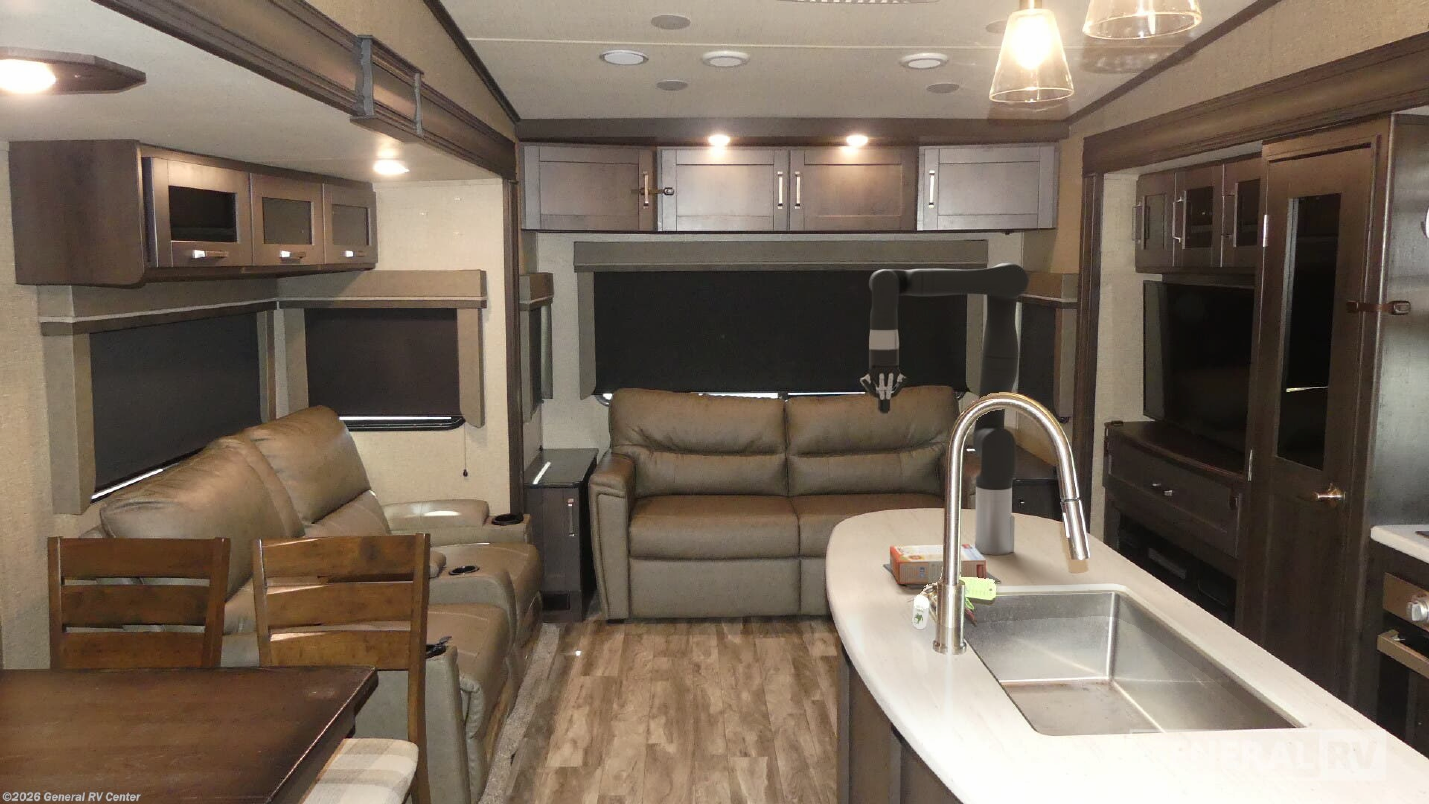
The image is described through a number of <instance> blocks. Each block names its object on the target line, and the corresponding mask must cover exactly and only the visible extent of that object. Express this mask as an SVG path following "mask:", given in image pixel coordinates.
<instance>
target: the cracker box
mask: <svg viewBox="0 0 1429 804" xmlns="http://www.w3.org/2000/svg"><path fill="white" fill-rule="evenodd" d="M943 545H944V544H932V545H931V544H926V545H890V546H889V564H890V568H891V570H892V572H893V574H894V577H895V580H896V581H897V583H898V585H905V584H930V583H936V582H938V580H939V579H940V577H941V573H942V567H943ZM960 545H961V572H960V574H961V577H978V578H984V579H986V571H987V559H985V557H984V556H983V555H982V553H980V552H979V551H978V550H977V549H976V548H975V545H974V544H973V543H969V544H968V543H965V544H960ZM893 574H892V575H893Z"/></svg>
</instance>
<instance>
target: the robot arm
mask: <svg viewBox="0 0 1429 804" xmlns="http://www.w3.org/2000/svg"><path fill="white" fill-rule="evenodd" d="M1029 282H1030V280H1029V275H1028V273H1027V271H1026V270H1025V269H1024V268H1023V266H1021V265H1019V264H1018V263H1014V262H1002V263H999V264H996V265H995V266H993V267H987V268H976V269H958V268H957V269H955V268H954V269H953V268H915V269H914V268H913V269H883V268H882V269H879V270H876V271H874V272H873V273H872V274H871V275H870V278H869V280H868V287H869V289H870V290H871V291H870V292H871V310H870V314H869V315H870V317H869V318H870V321H869V323H870V325H869V338H868V339H869V340H868V341H869V342H868V343H869V344H868V347H869V349H868V354H869V355H868V361H869V362H868V365H869V366H868V370H867V374H866V375H865V376H864V377H861V378H860V379H859V383H860V384H861V385H862V386H863V387H864V389H865V390H866V391H867V392H868V393H869V395H870V396H871V397H874V398H876V399H877V410H878V412H880V413H879V414H883V415H885V414H886V415H887V414H889V412H890V410H891V399H892V398H894V397H897V396H898V395H899V393H900V392H901V391H902V389H903V388H905V387H904V386H906V384H907V383H908V381H909V378H908V377H907V376H904V375H903V374H901V370H900V368H899V357H900V356H899V355H900V353H899V351H900V350H899V347H900V340H899V339H900V337H899V330H898V325H899V324H898V322H899V321H898V320H899V319H898V305H899V298H900V297H899V296H911V297H912V296H913V297H939V296H940V297H941V296H944V297H945V296H954V295H955V296H957V295H985V296H986V321H985V327H984V333H983V342H982V350H981V351H982V352H981V358H980V361H981V362H980V372H979V373H980V376H979V388H978V400H979V399H980V398H981V397H983V396H987V395H988V394H990V393H999V392H1010V394H1011V392H1012V390H1013V387H1014V386H1015V382H1016V380H1017V375H1018V365H1019V340H1018V333H1017V326H1016V311H1017V310H1016V309H1017V303H1018V298H1019V297H1020V296H1022V295H1023V294H1024V293H1025V292H1026V290H1027V289H1028V286H1029ZM896 381H897V382H896ZM871 382H872V383H873V384H874V385H875V389H874V388H873V386H872V385H871ZM895 382H896V384H895V385H894V383H895ZM893 385H894V386H893ZM1005 413H1006V408H1005V409H1002V410H995V411H990V412H988V413H987V414H984V415H982V416H981V417H979V418H978V420H976V419H975V423H974V428H973V433H972V446H973V449H974V451H975V453H976V454H977V455H978V456H979V457H980V458H981V459H980V461H981V463H980V471H979V473H978V474H977V475H976V478H975V517H974V518H975V523H974V524H975V526H974V527H975V528H974V529H975V530H974V532H975V534H974V539H975V540H974V547H975V548H976V549H977V550H978V551H979V553H980V554H986V555H993V556H994V555H998V556H999V555H1006V554H1009V553H1014V552H1015V527H1016V526H1015V525H1016V524H1015V522H1016V517H1015V515H1012V513H1013V510H1012V509H1013V506H1012V504H1013V498H1012V497H1013V481H1014V479H1015V476H1016V465H1017V441H1016V438H1015V436H1014V434H1013V433H1012V432H1011V431H1010V430H1009V429H1006V428H1005V418H1006V417H1005Z"/></svg>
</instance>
